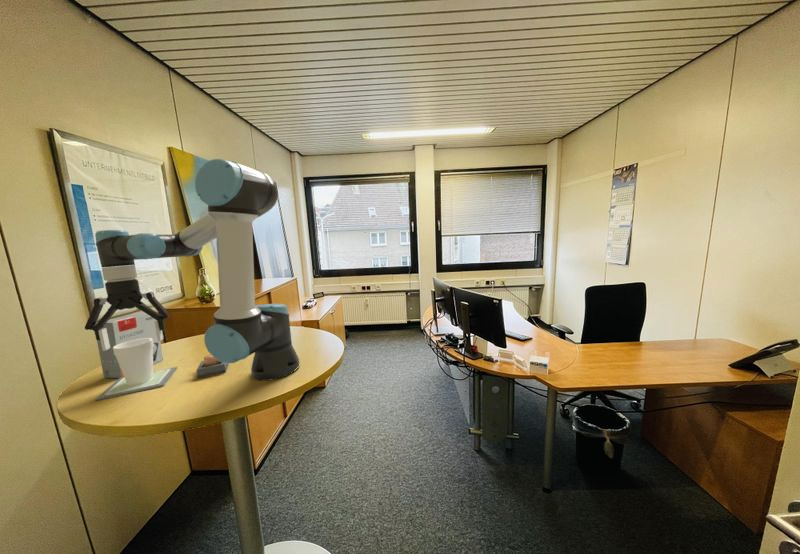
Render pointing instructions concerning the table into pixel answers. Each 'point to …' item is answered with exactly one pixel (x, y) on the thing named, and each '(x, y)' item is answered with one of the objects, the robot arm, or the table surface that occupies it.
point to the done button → (210, 360)
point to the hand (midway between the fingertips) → (134, 344)
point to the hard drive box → (123, 332)
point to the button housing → (211, 369)
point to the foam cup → (135, 360)
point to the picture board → (122, 387)
